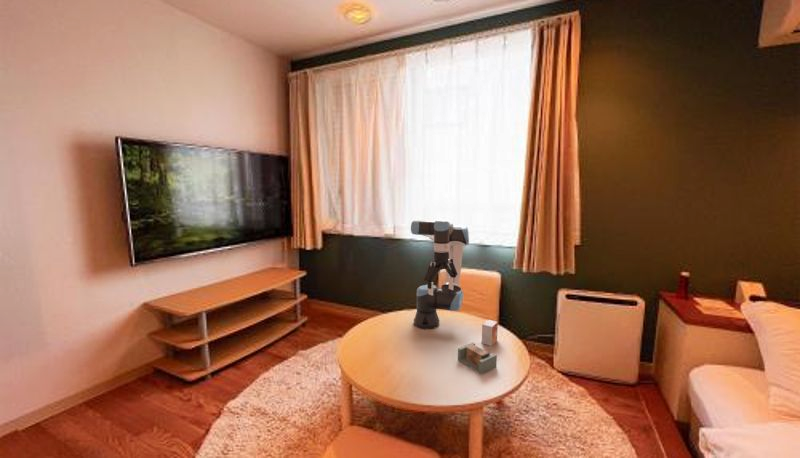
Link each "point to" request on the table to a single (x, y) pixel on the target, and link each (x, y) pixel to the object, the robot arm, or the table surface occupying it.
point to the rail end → (475, 354)
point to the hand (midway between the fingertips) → (441, 291)
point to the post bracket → (484, 363)
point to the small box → (489, 332)
